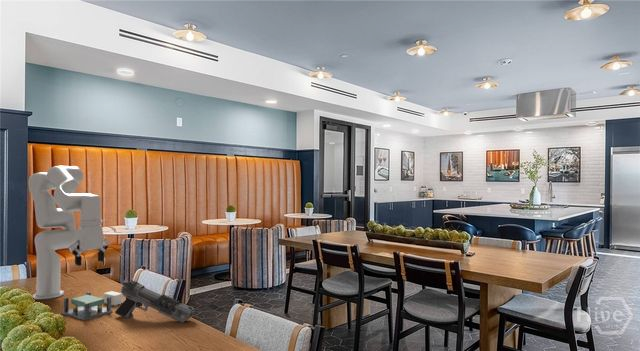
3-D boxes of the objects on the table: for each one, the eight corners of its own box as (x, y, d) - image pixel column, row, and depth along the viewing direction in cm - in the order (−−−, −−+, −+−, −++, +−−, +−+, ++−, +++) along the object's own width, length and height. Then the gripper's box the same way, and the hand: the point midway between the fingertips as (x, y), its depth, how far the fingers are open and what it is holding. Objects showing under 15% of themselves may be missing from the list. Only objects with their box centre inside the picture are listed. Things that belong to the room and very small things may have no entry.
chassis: (62, 313, 168) (62, 298, 168) (90, 305, 178) (90, 291, 178) (84, 320, 160) (84, 304, 160) (112, 311, 171) (112, 296, 171)
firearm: (180, 344, 158) (191, 309, 157) (110, 311, 164) (121, 278, 163) (185, 340, 162) (196, 306, 161) (117, 308, 168) (128, 275, 167)
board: (71, 303, 169) (71, 298, 169) (87, 299, 175) (87, 294, 175) (87, 308, 163) (87, 303, 163) (104, 303, 169) (104, 298, 169)
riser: (103, 302, 183) (103, 293, 183) (111, 300, 186) (111, 291, 186) (114, 305, 179) (114, 295, 179) (122, 303, 182) (122, 293, 182)
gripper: (104, 221, 181) (103, 258, 181) (64, 224, 166) (63, 265, 166) (114, 222, 177) (114, 260, 177) (74, 226, 162) (74, 268, 162)
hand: (89, 263), depth 171 cm, fingers open, 9 cm apart
